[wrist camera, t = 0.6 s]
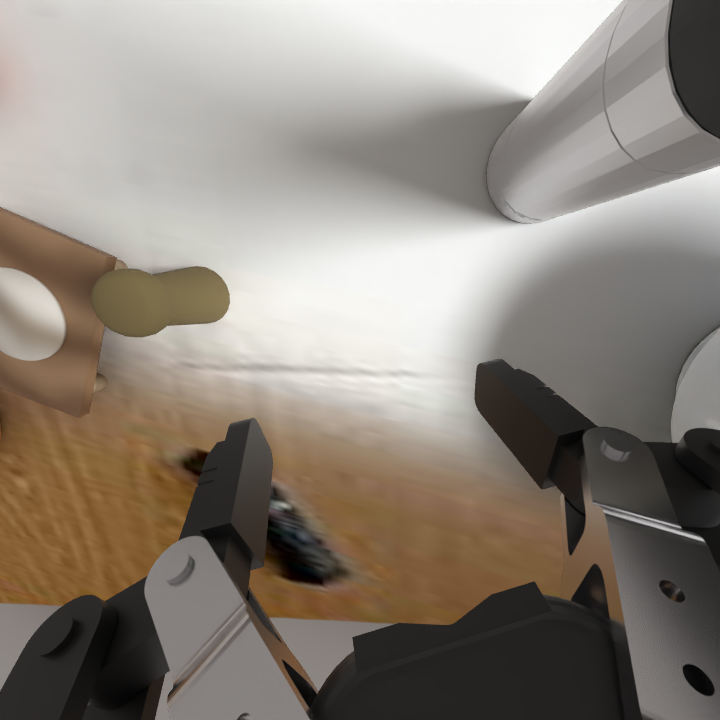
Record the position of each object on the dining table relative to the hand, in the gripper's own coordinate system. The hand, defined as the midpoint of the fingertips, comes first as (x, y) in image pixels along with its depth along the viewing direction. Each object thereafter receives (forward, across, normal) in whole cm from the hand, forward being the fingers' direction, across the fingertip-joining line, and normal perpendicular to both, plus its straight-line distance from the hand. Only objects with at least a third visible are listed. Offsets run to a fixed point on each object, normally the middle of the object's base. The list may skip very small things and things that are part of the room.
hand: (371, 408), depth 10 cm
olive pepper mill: (+25, +14, +1) cm, 29 cm away
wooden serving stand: (+28, +29, +1) cm, 41 cm away
